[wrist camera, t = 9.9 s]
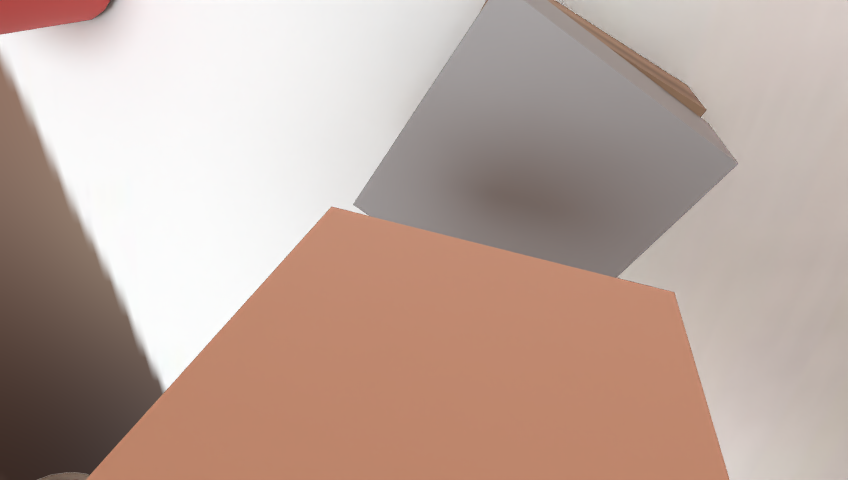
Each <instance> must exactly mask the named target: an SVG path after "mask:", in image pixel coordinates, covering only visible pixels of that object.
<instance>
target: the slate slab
mask: <svg viewBox="0 0 848 480" xmlns="http://www.w3.org/2000/svg"><path fill="white" fill-rule="evenodd" d="M737 164H738V163H737V161H736V160H735V159H734V157H733V156H732V155H731V153H730V152H729V151H728V149H727V148H726V147H725V145H724V144H723V143H722V141H721V140H720V139H719V137H718V136H717V134H716V133H715V132H714V130H713V129H712V128H711V126H710V125H709V124H708V123H707V122H706V121H705V120H703V119H702V118H701V117H699V116H698V115H697V114H695V113H694V112H693V111H691V110H690V109H689V108H688V107H686V106H685V105H684V104H682V103H681V102H680V101H678V100H677V99H676V98H674V97H673V96H672V95H671V94H669V93H668V92H667V91H665V90H664V89H663V88H661V87H660V86H659V85H657V84H656V83H655V82H654V81H652V80H651V79H650V78H648V77H647V76H646V75H644V74H643V73H642V72H640V71H639V70H638V69H637V68H635V67H634V66H633V65H631V64H630V63H629V62H627V61H626V60H625V59H623V58H622V57H621V56H620V55H618V54H617V53H616V52H614V51H613V50H612V49H610V48H609V47H608V46H606V45H605V44H604V43H603V42H601V41H600V40H599V39H597V38H596V37H595V36H593V35H592V34H591V33H589V32H588V31H587V30H586V29H584V28H583V27H582V26H580V25H579V24H578V23H576V22H575V21H574V20H573V19H571V18H570V17H569V16H567V15H566V14H565V13H563V12H562V11H561V10H559V9H558V8H557V7H556V6H554V5H553V4H552V3H550V2H549V1H548V0H488V1H487V3H486V4H485V6H484V7H483V9H482V10H481V12H480V13H479V15H478V16H477V18H476V19H475V21H474V22H473V24H472V26H471V27H470V29H469V30H468V32H467V33H466V35H465V36H464V38H463V39H462V41H461V42H460V44H459V45H458V47H457V48H456V50H455V51H454V53H453V54H452V56H451V57H450V59H449V60H448V62H447V63H446V65H445V66H444V68H443V69H442V71H441V72H440V74H439V75H438V77H437V78H436V80H435V81H434V83H433V84H432V86H431V87H430V89H429V91H428V92H427V94H426V95H425V97H424V98H423V100H422V101H421V103H420V104H419V106H418V107H417V109H416V110H415V112H414V113H413V115H412V116H411V118H410V119H409V121H408V122H407V124H406V125H405V127H404V128H403V130H402V131H401V133H400V134H399V136H398V137H397V139H396V140H395V142H394V143H393V145H392V146H391V148H390V149H389V151H388V153H387V154H386V156H385V157H384V159H383V160H382V162H381V163H380V165H379V166H378V168H377V169H376V171H375V172H374V174H373V175H372V177H371V178H370V180H369V181H368V183H367V184H366V186H365V187H364V189H363V190H362V192H361V193H360V195H359V196H358V198H357V199H356V201H355V202H354V204H353V205H355V206H356V207H357V208H359V209H360V210H362V211H363V212H365V213H366V214H367V215H369V216H371V217H375V218H379V219H383V220H387V221H391V222H395V223H399V224H403V225H407V226H411V227H415V228H419V229H423V230H427V231H431V232H435V233H439V234H443V235H447V236H451V237H455V238H459V239H463V240H467V241H471V242H475V243H479V244H483V245H487V246H491V247H495V248H499V249H503V250H507V251H511V252H515V253H519V254H523V255H527V256H531V257H535V258H539V259H543V260H547V261H551V262H555V263H559V264H563V265H567V266H571V267H575V268H579V269H583V270H587V271H591V272H595V273H599V274H603V275H607V276H611V277H615V278H616V277H617V276H618V275H620V274H621V273H622V272H623V271H624V270H625V269H626V268H627V267H628V266H629V265H630V264H631V263H632V262H633V261H635V260H636V259H637V258H638V257H639V256H640V255H641V254H642V253H643V252H644V251H645V250H646V249H647V248H648V247H650V246H651V245H652V244H653V243H654V242H655V241H656V240H657V239H658V238H659V237H660V236H661V235H662V234H663V233H665V232H666V231H667V230H668V229H669V228H670V227H671V226H672V225H673V224H674V223H675V222H676V221H677V220H678V219H680V218H681V217H682V216H683V215H684V214H685V213H686V212H687V211H688V210H689V209H690V208H691V207H692V206H693V205H695V204H696V203H697V202H698V201H699V200H700V199H701V198H702V197H703V196H704V195H705V194H706V193H707V192H708V191H710V190H711V189H712V188H713V187H714V186H715V185H716V184H717V183H718V182H719V181H720V180H721V179H722V178H723V177H725V176H726V175H727V174H728V173H729V172H730V171H731V170H732V169H733V168H734V167H735V166H736V165H737Z"/></svg>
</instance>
